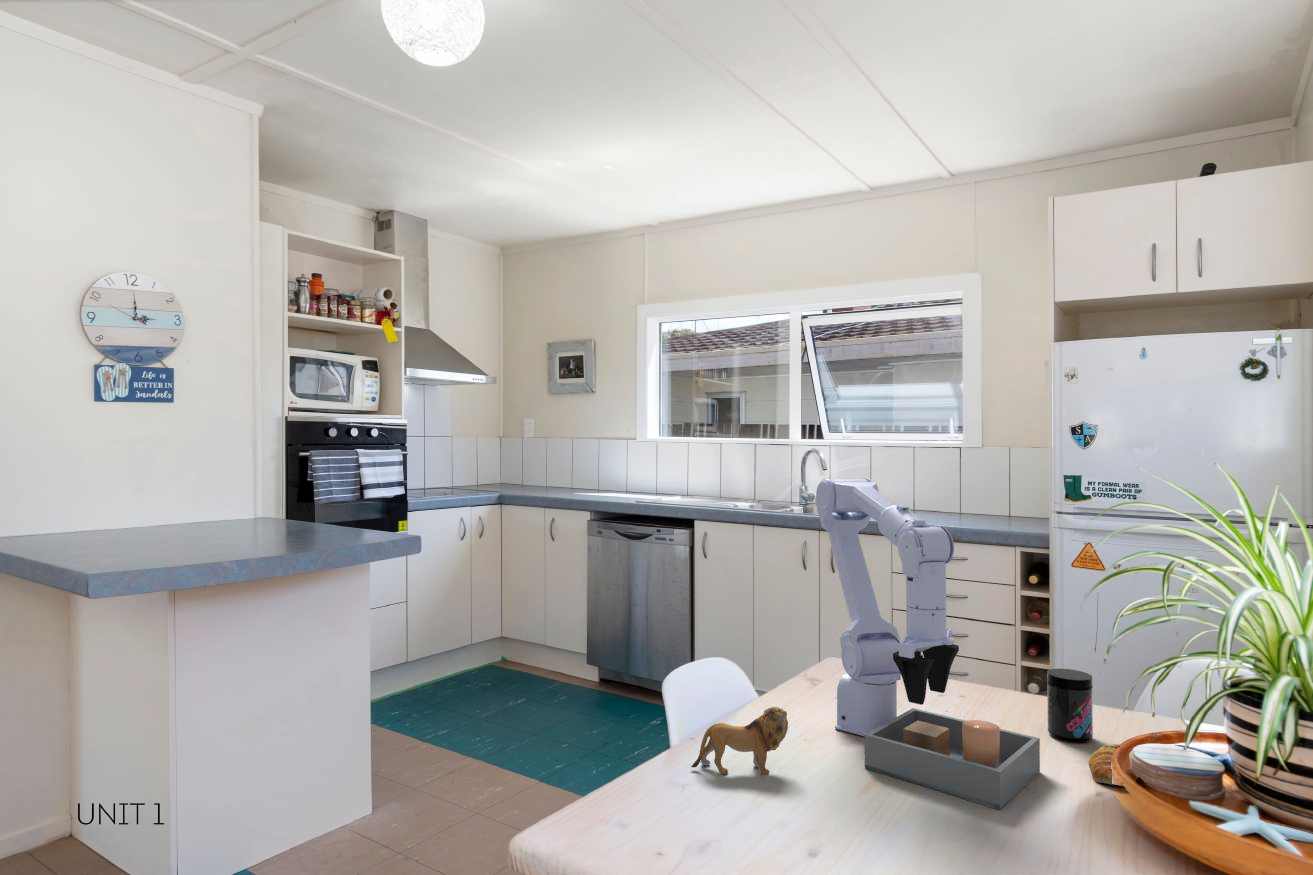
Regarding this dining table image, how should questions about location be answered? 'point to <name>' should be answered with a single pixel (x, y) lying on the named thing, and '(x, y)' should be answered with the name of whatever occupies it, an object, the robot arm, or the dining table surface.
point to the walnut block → (928, 737)
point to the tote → (953, 761)
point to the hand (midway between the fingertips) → (926, 696)
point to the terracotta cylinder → (981, 742)
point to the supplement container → (1070, 705)
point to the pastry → (1102, 763)
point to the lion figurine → (746, 739)
